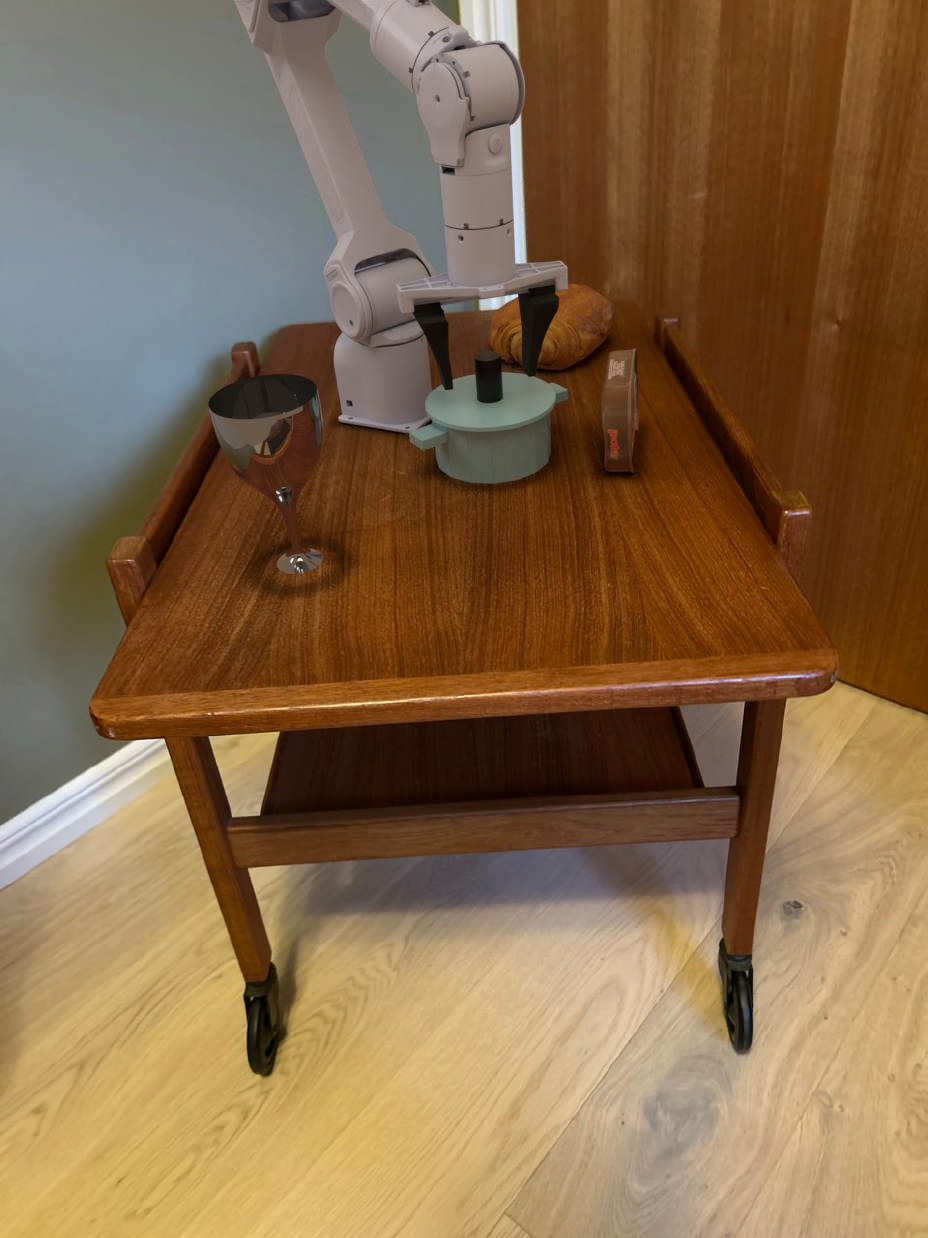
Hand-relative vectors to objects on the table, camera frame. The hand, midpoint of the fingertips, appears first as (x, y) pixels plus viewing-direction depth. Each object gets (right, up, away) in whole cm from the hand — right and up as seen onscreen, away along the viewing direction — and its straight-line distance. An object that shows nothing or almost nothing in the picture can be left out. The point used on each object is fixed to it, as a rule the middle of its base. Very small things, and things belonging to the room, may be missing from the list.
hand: (488, 379), depth 82 cm
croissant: (+8, +11, +27) cm, 30 cm away
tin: (+13, -6, +5) cm, 15 cm away
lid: (0, -2, +1) cm, 2 cm away
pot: (+1, -7, +5) cm, 8 cm away
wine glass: (-16, -18, -7) cm, 25 cm away
